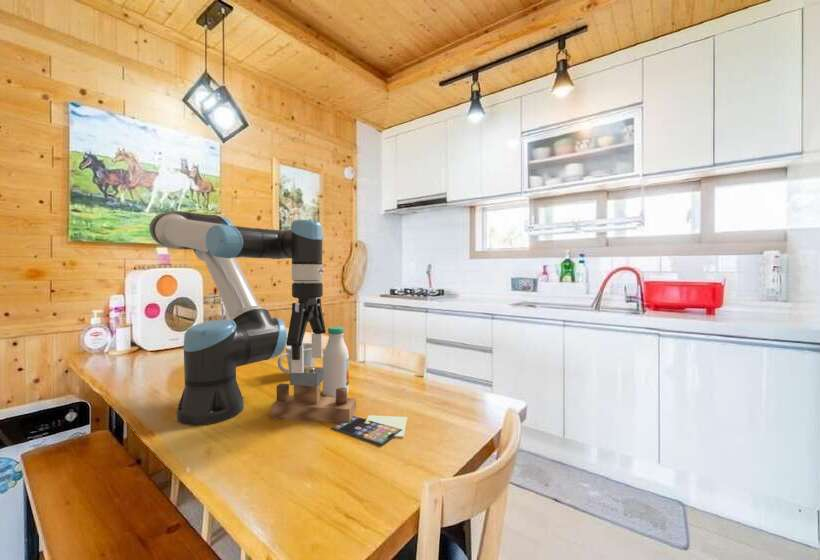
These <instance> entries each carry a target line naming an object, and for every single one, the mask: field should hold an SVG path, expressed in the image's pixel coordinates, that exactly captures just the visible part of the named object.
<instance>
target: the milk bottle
mask: <svg viewBox="0 0 820 560" xmlns="http://www.w3.org/2000/svg"><path fill="white" fill-rule="evenodd" d="M327 329H328V330H327V332H328V333H327V335H328V340H327V343H326V346H325V348H324V351H323V352H322V368H324V380H323V381H322V394H323V395H324V397H336V389H337V388H347V394H348V393H349V392H350V390H349V388H350V384H349V383H350V382H349V381H350V360H349V359H350V358H349V350H348V347H347V345H346V343H345V340H344V335H345V334H344V332H345V328H344V327H343V326H330V327H328V328H327Z"/></svg>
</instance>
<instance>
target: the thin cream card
mask: <svg viewBox="0 0 820 560" xmlns="http://www.w3.org/2000/svg"><path fill="white" fill-rule="evenodd" d="M367 421H373V422H376V423H380V424H384V425H388V426H391V427H395V428H398V429H402V431H400V432H399V433H397V434H396V435H395V436H394V437H395V438H396V439H397V438H399V439H400V438H401V439H404V438H405V431H406V428H407V423H408V416H392V415H371V414H369V415H368V416H367V418H366V422H367ZM395 438H394V439H395Z"/></svg>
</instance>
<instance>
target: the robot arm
mask: <svg viewBox="0 0 820 560" xmlns="http://www.w3.org/2000/svg"><path fill="white" fill-rule="evenodd" d="M148 228H149V230H148V231H149V234H150V237H151V239H152V240H153V241H155V243H156V244H159V245H160V246H163V247H166V248H169V249H177V250H192V251H193V252H194V254H195V256H196V258H197V259H198V260H199V261H202V262H204V263H205V265H206V267H207V270H208V273H209V274H210V276H211V278H212V281H213V283H214V285H215V287H216V289H217V291H218V294H219V295H220V298H221V300H222V303H223V304H224V307H225V309H226V311H227V313H228V316H229V318H230V319H227V318H226V319H224V318H223V319H218V320H208V321H205V322H201V323H197V324H195V325H193V326H191V327H189V328H188V329H187V330H186V331H185V333H184V335H183V337H184V338H183V344H182V345H183V346H182V349H183V371H184V372H183V373H184V388H183V391H182V394H181V397H180V399H179V403H178V405H177V407H176V420H177V422H179V423H180V424H184V425H189V426H190V425H191V426H200V425H203V426H204V425H208V424H215V423H219V422H223V421H225V420H229V419H231V418H233V417H236V416H237V415H239V414H241V412H242V411H243V410H244V405H245V403H244V402H245V401H244V397H243V395H242V392H241V389H240V387H239V384H238V381H237V367H242V366H246V365H251V364H254V363H258V362H263V361H269V360H271V359H273V358H276V357H279V356H281V355H282V353H283V352H284V350H285V349H286V346H291V373H303V372H304V346H303V345H302V343H303V340H304V337H305V333H306V330H307V329H306V328H307V327H308V323H309V325H310V328H311V330H312V333H311V343H312V358H315V359H323V334H326V325H325V320H324V315H323V314H324V313H323V308H322V299H321V297H323V294H324V293H323V287H324V286H323V283H322V282H321V281H323V273H324V272H325V269H324V268H323V239H324V237H323V228H322V223H321V222H320V221H317V220H312V219H295V220H293V221H292V222H291V223H290V229H285V230H282V229H270V228H269V229H268V228H257V227H248V226H241V225H240V226H239V225H234V223H233V221H231V220H230V219H229V218H227V217H226V216H222V215H221V216H220V215H217V214H204V213H197V212H191V211H190V212H189V211H180V210H169V211H164V212H161V213H159V214H157V215H155V216H154V217H153V219H152V220H151V221H150V222H149V227H148ZM237 258H239V259H241V258H242V259H243V258H244V259H248V258H249V259H271V260H281V259H291V280H292V281H293V282H292V283H291V296H292V298H294V299H298V300H297V303H295V302H294V303H292V305H291V316H290V321H289V327H288V330H287V327H286V324H285V322H284V321H283V320H282V319H281V318H279V317H272V315H271V314H270V312H269V310H268V309H267V308H265V307H261V306H260V304H259V302H258V300H257V297H256V295H255V293H254V291H253V290H252V288H251V286H250V284H249V281H248V280H247V278H246V276H245V274H244V272H243V270H242V268H241V266H240V264H239V262H238V260H237Z"/></svg>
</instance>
